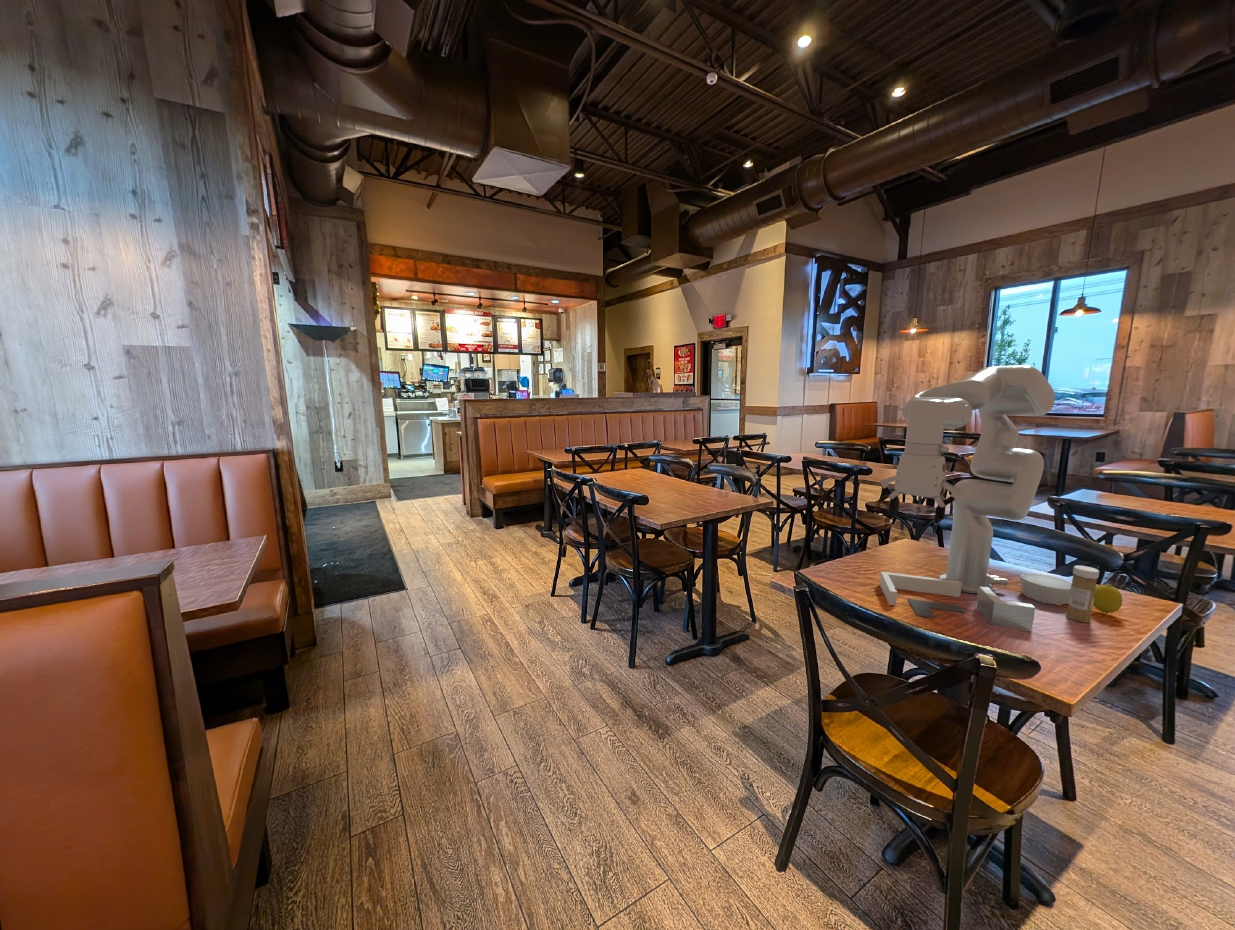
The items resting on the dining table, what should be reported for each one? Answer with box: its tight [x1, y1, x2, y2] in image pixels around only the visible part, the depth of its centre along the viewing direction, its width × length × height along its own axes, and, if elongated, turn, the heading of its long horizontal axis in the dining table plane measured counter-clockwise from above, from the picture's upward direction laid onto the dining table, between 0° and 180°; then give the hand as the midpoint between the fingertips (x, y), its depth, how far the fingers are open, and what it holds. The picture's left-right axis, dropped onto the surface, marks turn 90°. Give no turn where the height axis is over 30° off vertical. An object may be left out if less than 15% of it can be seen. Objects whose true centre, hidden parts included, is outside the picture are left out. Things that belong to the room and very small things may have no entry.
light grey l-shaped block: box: [879, 571, 962, 607], centre depth 128 cm, size 20×15×4 cm
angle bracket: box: [975, 586, 1036, 632], centre depth 118 cm, size 10×8×6 cm
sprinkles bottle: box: [1065, 565, 1100, 623], centre depth 118 cm, size 5×5×13 cm
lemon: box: [1093, 583, 1123, 614], centre depth 121 cm, size 6×6×8 cm
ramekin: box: [1019, 572, 1072, 605], centre depth 130 cm, size 11×11×5 cm
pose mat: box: [907, 598, 966, 619], centre depth 122 cm, size 12×10×1 cm
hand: (915, 517), depth 118 cm, fingers open, 9 cm apart
